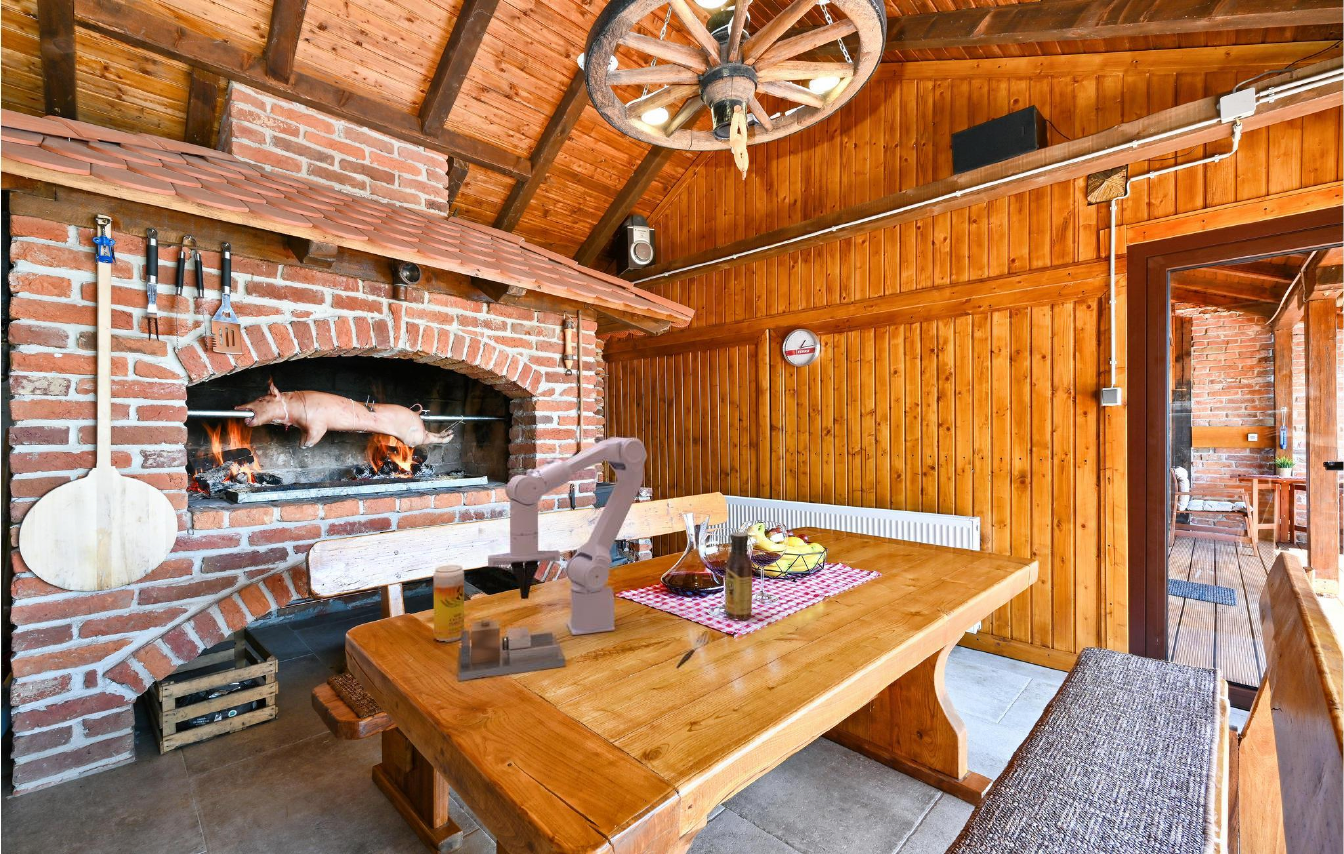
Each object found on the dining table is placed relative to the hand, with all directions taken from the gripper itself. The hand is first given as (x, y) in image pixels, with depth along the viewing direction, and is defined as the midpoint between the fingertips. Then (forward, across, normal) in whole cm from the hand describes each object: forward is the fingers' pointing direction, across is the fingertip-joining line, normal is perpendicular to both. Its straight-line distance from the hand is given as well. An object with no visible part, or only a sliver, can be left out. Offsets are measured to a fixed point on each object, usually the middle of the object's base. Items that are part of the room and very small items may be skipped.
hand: (524, 597), depth 125 cm
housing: (+8, +8, +9) cm, 15 cm away
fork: (+10, -31, +17) cm, 37 cm away
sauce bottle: (+10, -49, +1) cm, 50 cm away
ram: (+8, +3, +9) cm, 12 cm away
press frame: (+9, +4, +9) cm, 13 cm away
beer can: (+10, +15, -8) cm, 20 cm away
